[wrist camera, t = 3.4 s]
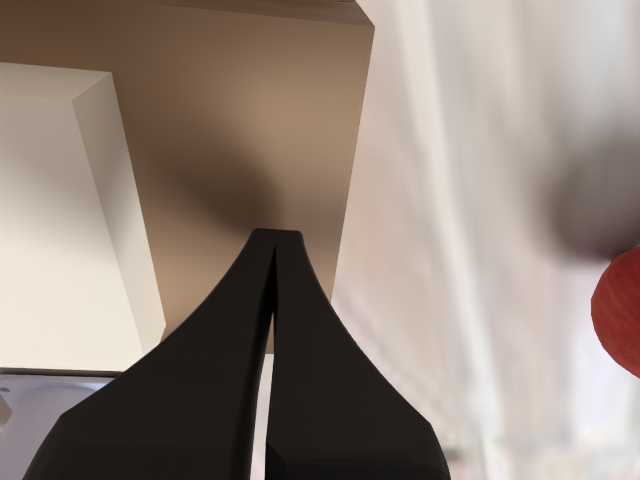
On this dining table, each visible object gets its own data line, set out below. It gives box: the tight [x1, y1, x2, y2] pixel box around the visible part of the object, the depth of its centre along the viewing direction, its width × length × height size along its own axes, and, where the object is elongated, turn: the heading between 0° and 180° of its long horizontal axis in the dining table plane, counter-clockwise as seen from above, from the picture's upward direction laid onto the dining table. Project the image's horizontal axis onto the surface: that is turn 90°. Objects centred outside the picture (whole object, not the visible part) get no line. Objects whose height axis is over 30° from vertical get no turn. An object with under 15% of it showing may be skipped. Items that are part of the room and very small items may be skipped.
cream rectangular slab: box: [0, 62, 166, 371], centre depth 11 cm, size 9×6×2 cm, turn 174°
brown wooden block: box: [0, 0, 375, 354], centre depth 13 cm, size 12×20×4 cm, turn 84°
